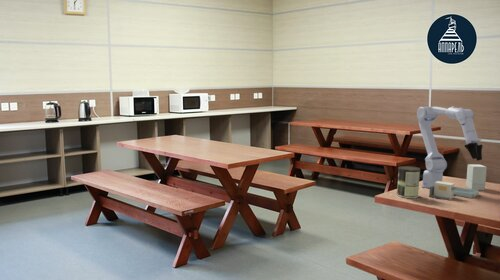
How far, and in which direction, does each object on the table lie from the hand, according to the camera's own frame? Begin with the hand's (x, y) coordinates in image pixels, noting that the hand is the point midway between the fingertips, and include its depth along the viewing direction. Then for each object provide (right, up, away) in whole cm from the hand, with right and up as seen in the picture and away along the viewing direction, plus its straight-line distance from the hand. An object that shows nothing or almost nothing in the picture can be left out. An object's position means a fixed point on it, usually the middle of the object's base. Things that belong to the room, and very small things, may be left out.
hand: (477, 159), depth 237 cm
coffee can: (-31, -19, +7) cm, 37 cm away
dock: (-14, -19, +7) cm, 24 cm away
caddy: (-14, -19, +7) cm, 24 cm away
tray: (-2, -18, +13) cm, 23 cm away
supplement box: (+11, -17, +27) cm, 34 cm away
